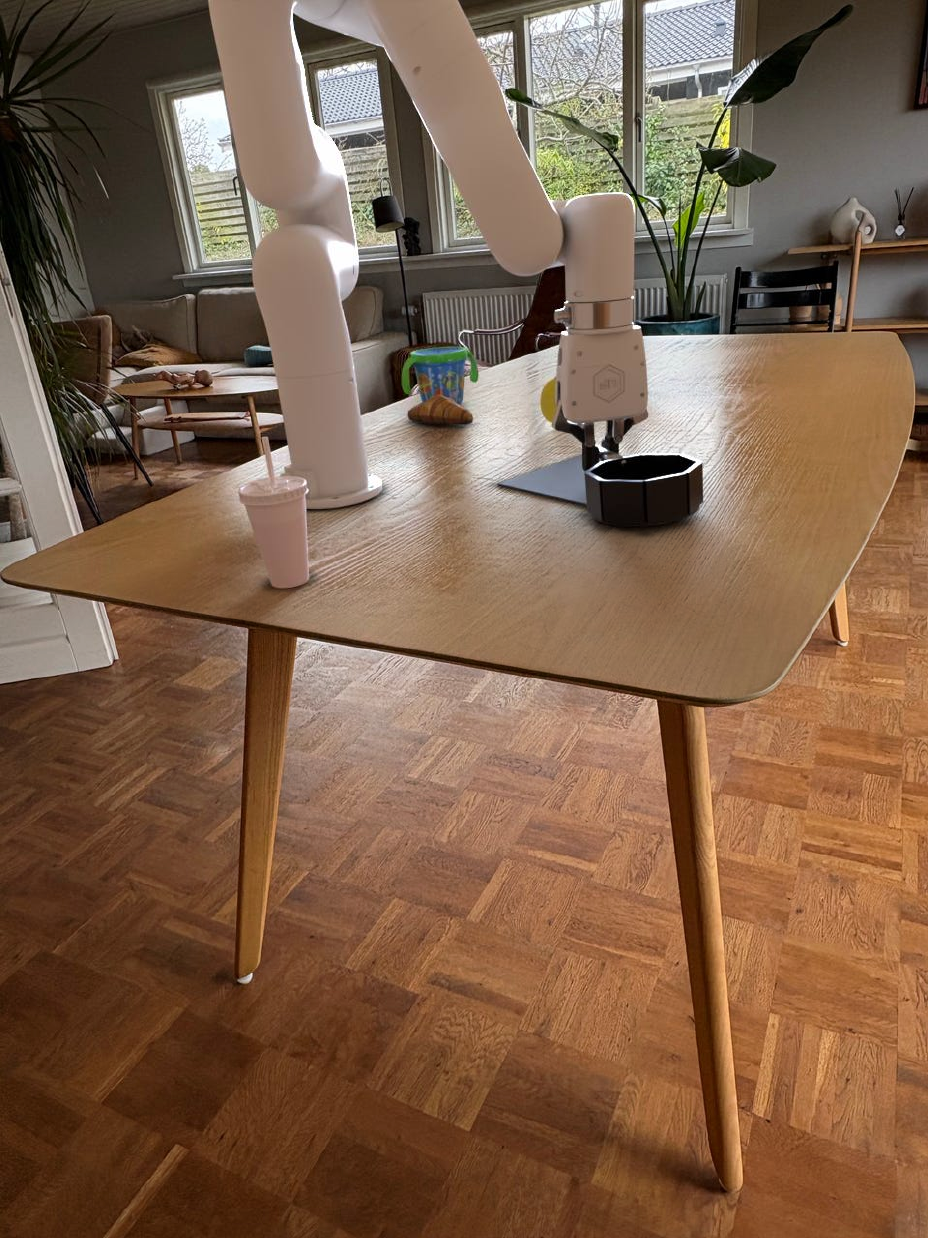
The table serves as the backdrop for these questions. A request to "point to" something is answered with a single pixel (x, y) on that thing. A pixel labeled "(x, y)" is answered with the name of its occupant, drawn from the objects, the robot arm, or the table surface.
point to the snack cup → (440, 372)
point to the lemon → (549, 400)
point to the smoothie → (279, 524)
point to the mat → (554, 481)
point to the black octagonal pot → (643, 488)
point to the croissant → (440, 412)
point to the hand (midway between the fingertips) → (600, 474)
